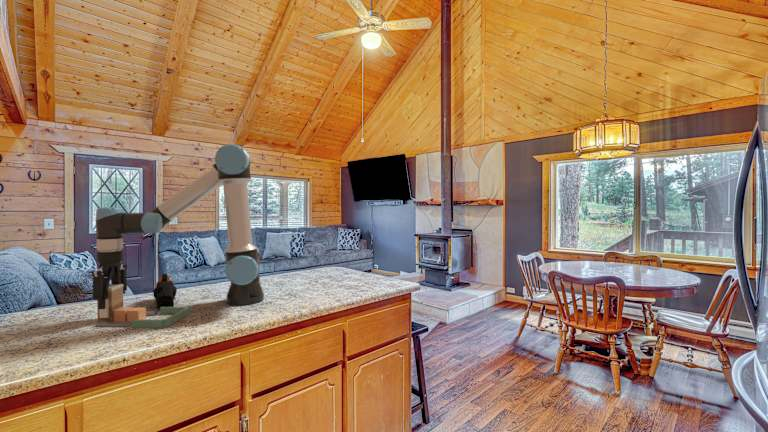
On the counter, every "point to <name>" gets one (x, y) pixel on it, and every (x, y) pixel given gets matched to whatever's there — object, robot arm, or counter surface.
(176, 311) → the green u-shaped frame
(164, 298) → the tool
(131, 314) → the orange cube piece
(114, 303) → the light brown tall block
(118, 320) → the orange cubic piece
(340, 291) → the counter surface
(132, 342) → the counter surface
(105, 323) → the slot rails
